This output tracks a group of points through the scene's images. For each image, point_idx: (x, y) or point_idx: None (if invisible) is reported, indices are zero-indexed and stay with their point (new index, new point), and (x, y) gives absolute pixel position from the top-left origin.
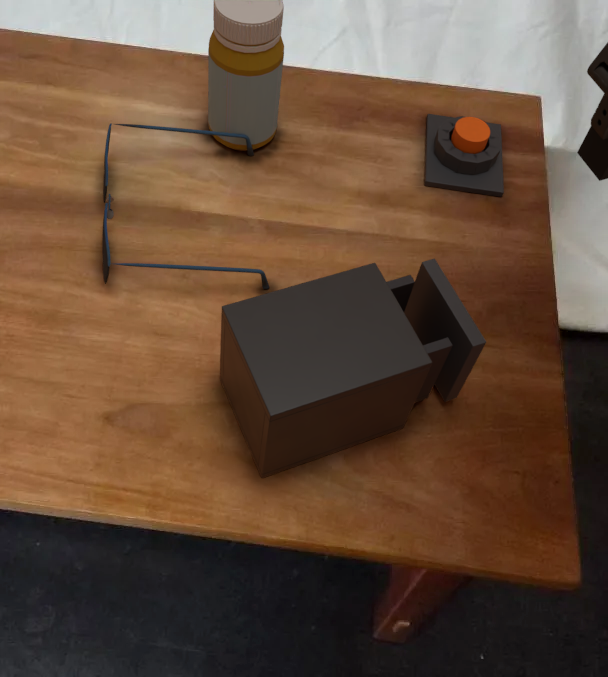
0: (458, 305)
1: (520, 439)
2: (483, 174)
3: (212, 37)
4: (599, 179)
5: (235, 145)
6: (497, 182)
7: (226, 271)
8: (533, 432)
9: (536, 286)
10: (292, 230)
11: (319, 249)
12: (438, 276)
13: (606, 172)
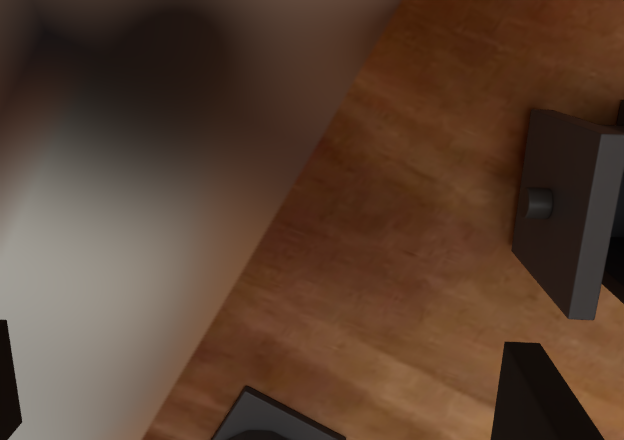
0: (597, 220)
1: (470, 13)
2: (256, 427)
3: None
4: (539, 347)
5: None
6: (244, 409)
7: None
8: (443, 16)
9: (286, 235)
10: None
11: None
12: (587, 284)
13: (540, 360)
